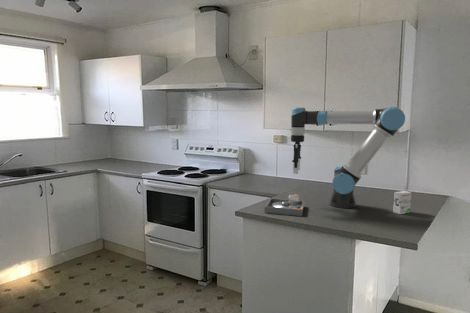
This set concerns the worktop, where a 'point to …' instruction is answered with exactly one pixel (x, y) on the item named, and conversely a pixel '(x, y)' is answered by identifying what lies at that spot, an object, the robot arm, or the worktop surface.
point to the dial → (290, 204)
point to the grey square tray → (284, 210)
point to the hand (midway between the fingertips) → (296, 171)
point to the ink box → (402, 202)
